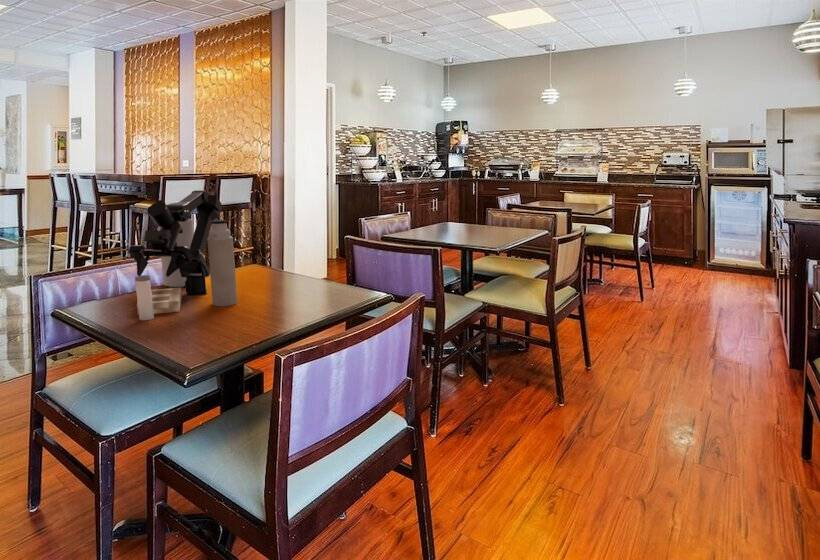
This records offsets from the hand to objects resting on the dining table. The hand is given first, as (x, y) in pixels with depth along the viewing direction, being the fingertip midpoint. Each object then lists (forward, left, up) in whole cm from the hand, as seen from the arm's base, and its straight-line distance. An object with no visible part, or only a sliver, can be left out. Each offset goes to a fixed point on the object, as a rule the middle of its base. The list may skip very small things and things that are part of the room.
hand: (152, 275), depth 168 cm
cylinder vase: (-6, -43, -12) cm, 45 cm away
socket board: (-1, -10, -12) cm, 16 cm away
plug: (+2, +5, -12) cm, 13 cm away
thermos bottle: (-21, -6, -12) cm, 25 cm away
